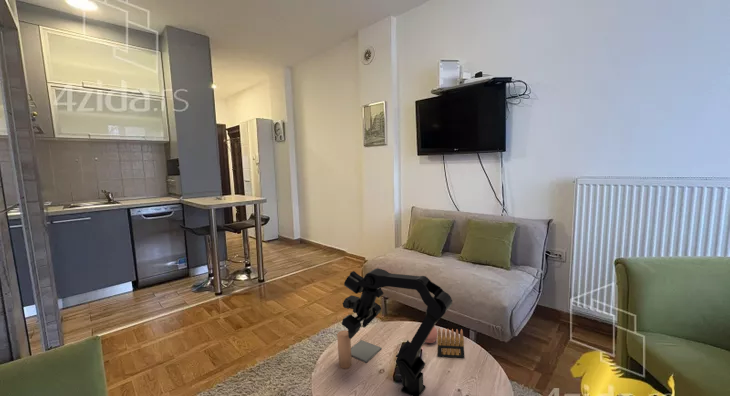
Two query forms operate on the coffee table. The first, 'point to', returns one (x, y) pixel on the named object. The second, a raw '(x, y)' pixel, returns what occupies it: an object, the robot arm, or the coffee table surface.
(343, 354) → the tan domed cylinder
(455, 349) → the ammunition clip
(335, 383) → the coffee table surface
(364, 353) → the slate mat
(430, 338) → the pink bottle vase
